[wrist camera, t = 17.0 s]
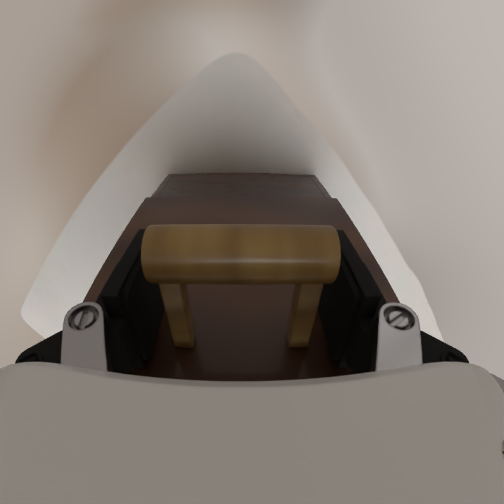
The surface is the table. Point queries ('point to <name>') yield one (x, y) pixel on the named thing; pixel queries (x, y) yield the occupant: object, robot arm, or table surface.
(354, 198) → the table surface
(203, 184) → the chest
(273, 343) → the chest lid
